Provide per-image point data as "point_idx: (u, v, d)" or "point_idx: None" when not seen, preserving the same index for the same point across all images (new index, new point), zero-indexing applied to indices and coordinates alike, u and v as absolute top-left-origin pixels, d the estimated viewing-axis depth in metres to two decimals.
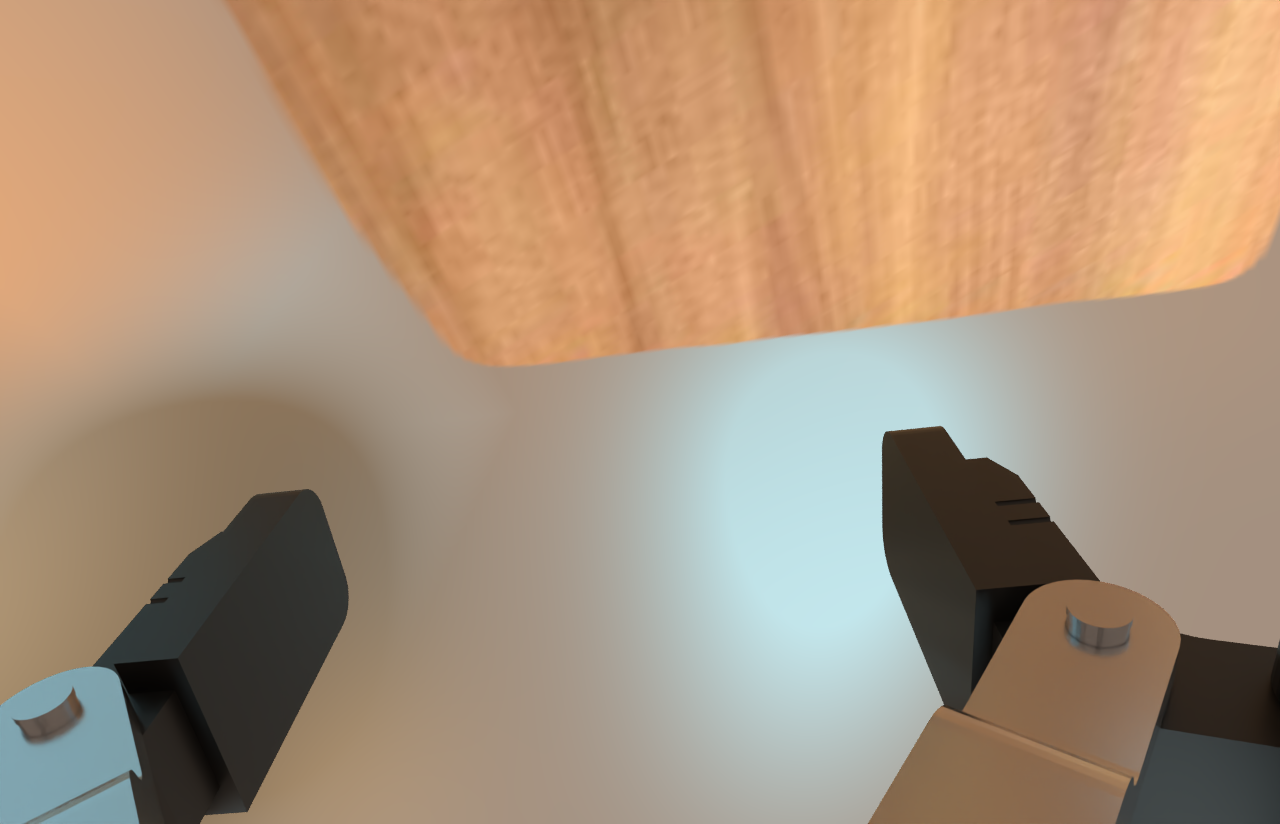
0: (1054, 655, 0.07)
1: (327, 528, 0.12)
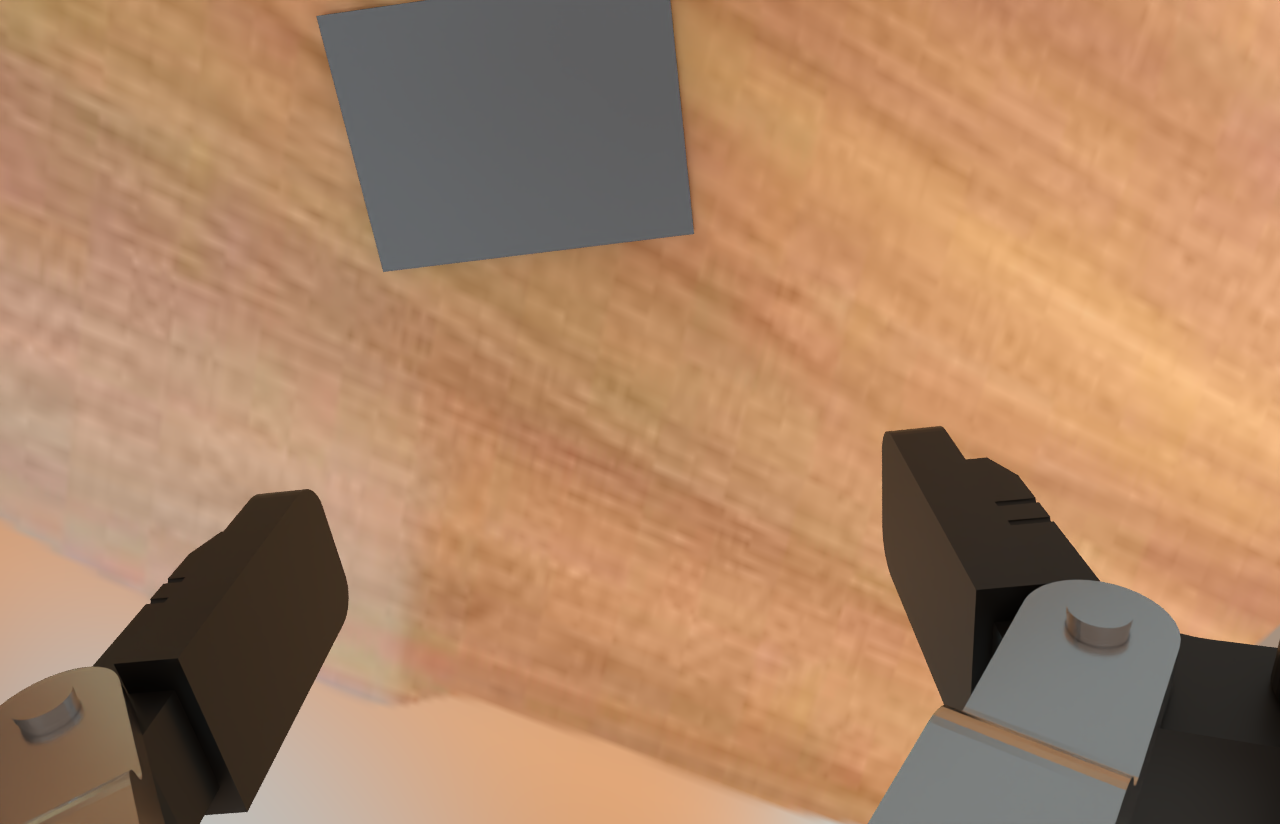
0: (1054, 655, 0.07)
1: (327, 528, 0.12)
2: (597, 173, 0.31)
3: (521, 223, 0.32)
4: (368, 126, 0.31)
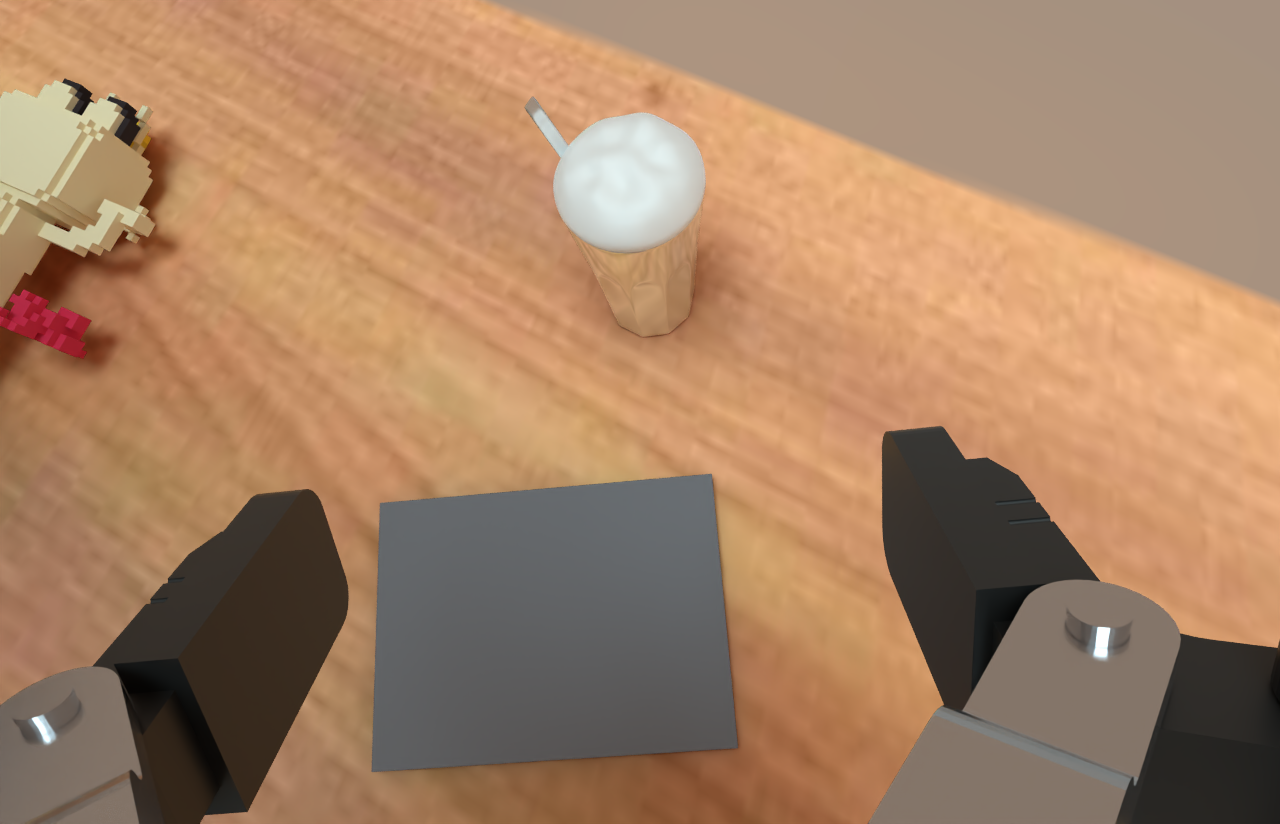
0: (1055, 655, 0.07)
1: (327, 528, 0.12)
2: (630, 669, 0.28)
3: (539, 722, 0.28)
4: (400, 606, 0.30)
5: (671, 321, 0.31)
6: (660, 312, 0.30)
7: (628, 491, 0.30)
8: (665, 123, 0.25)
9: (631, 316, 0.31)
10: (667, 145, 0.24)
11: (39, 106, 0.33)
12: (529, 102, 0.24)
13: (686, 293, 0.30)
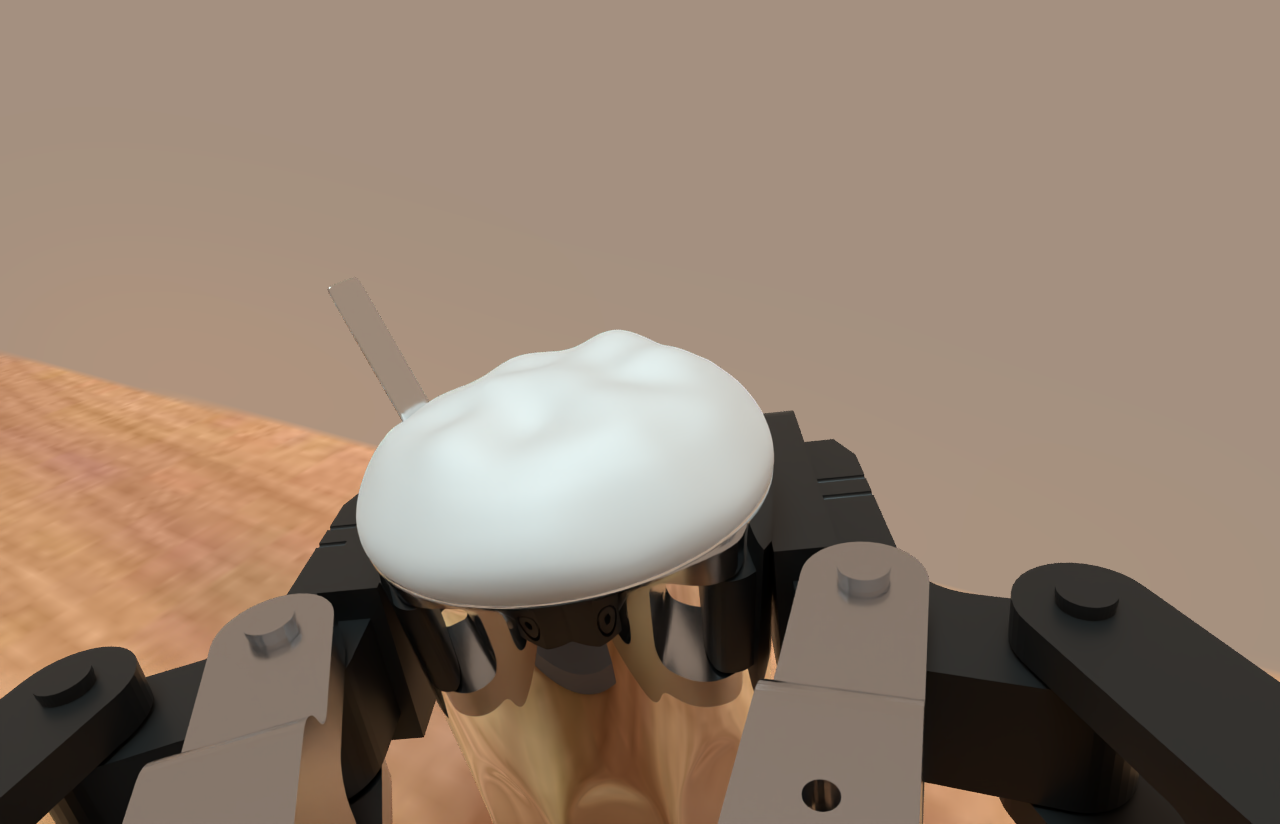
0: (836, 613, 0.08)
1: None
2: None
3: None
4: None
5: None
6: None
7: None
8: None
9: None
10: (664, 351, 0.09)
11: None
12: (343, 283, 0.10)
13: None
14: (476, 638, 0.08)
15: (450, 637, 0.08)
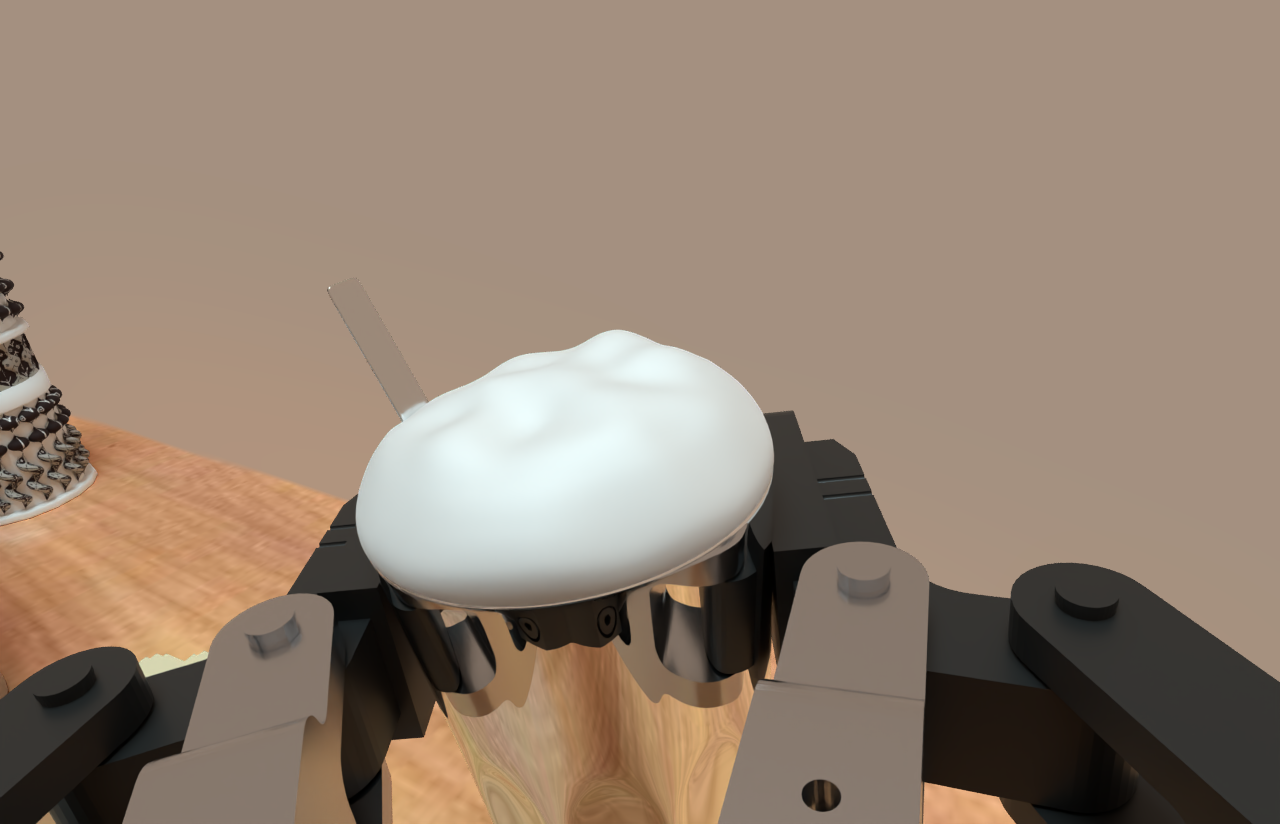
0: (836, 613, 0.08)
1: None
2: None
3: None
4: None
5: None
6: None
7: None
8: None
9: None
10: (664, 352, 0.09)
11: None
12: (342, 283, 0.10)
13: None
14: (476, 638, 0.08)
15: (450, 637, 0.08)
